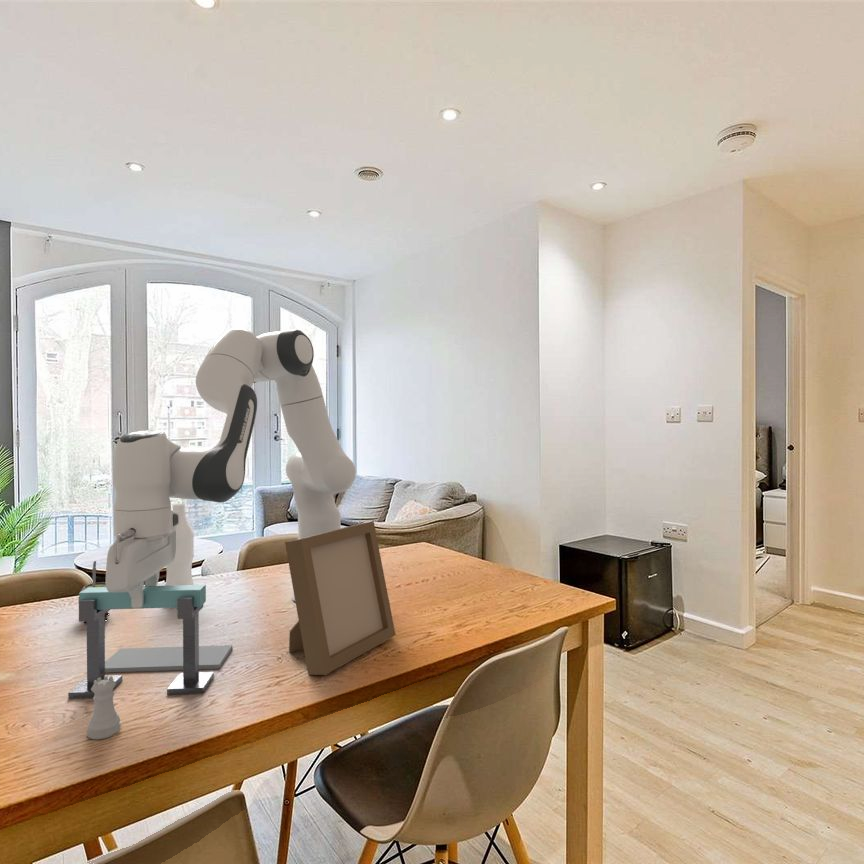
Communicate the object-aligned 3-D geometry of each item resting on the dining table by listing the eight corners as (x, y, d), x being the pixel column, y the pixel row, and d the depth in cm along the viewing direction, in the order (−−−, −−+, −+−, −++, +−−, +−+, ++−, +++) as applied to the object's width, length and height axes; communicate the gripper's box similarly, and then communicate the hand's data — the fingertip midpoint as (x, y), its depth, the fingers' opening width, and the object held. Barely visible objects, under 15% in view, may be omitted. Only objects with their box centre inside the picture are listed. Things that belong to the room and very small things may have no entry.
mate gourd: (99, 612, 135) (98, 551, 134) (123, 616, 132) (123, 554, 132) (69, 623, 127) (69, 558, 127) (95, 627, 125) (94, 561, 125)
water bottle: (199, 596, 147) (199, 502, 147) (184, 605, 140) (184, 506, 139) (174, 595, 148) (173, 502, 147) (158, 604, 141) (157, 506, 140)
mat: (232, 648, 113) (232, 645, 113) (219, 668, 104) (219, 664, 104) (120, 652, 112) (120, 648, 111) (97, 672, 103) (97, 668, 103)
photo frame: (395, 639, 118) (394, 523, 118) (325, 680, 100) (323, 542, 100) (343, 626, 126) (341, 517, 126) (268, 662, 108) (266, 534, 107)
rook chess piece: (96, 725, 85) (95, 673, 85) (126, 723, 86) (126, 672, 85) (80, 741, 81) (79, 687, 81) (112, 740, 81) (111, 686, 81)
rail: (205, 601, 99) (205, 584, 99) (200, 607, 96) (200, 589, 96) (88, 604, 97) (88, 587, 97) (79, 610, 94) (79, 592, 94)
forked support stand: (213, 677, 101) (213, 587, 101) (203, 693, 95) (202, 598, 95) (87, 681, 99) (86, 590, 99) (68, 698, 93) (67, 601, 93)
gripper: (135, 535, 86) (136, 623, 87) (182, 513, 107) (183, 584, 107) (93, 536, 86) (94, 624, 86) (148, 513, 106) (149, 585, 107)
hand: (144, 602), depth 97 cm, fingers closed on rail, 3 cm apart
